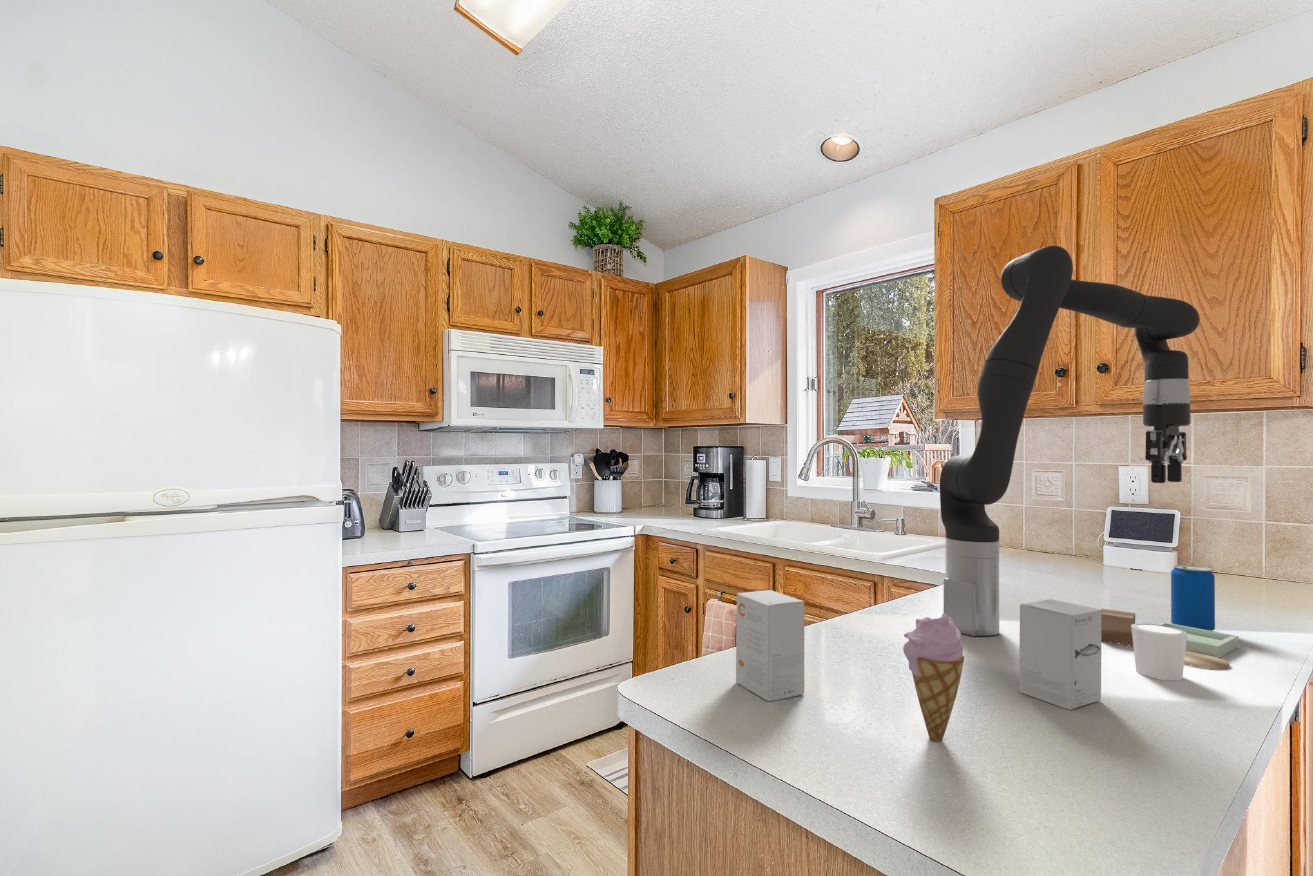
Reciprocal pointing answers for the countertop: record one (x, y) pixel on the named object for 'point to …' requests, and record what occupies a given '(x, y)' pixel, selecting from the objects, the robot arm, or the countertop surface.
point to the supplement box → (1060, 653)
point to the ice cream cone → (935, 669)
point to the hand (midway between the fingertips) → (1166, 482)
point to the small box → (770, 644)
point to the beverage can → (1193, 597)
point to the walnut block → (1117, 626)
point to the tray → (1207, 640)
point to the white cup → (1159, 651)
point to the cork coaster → (1205, 661)
